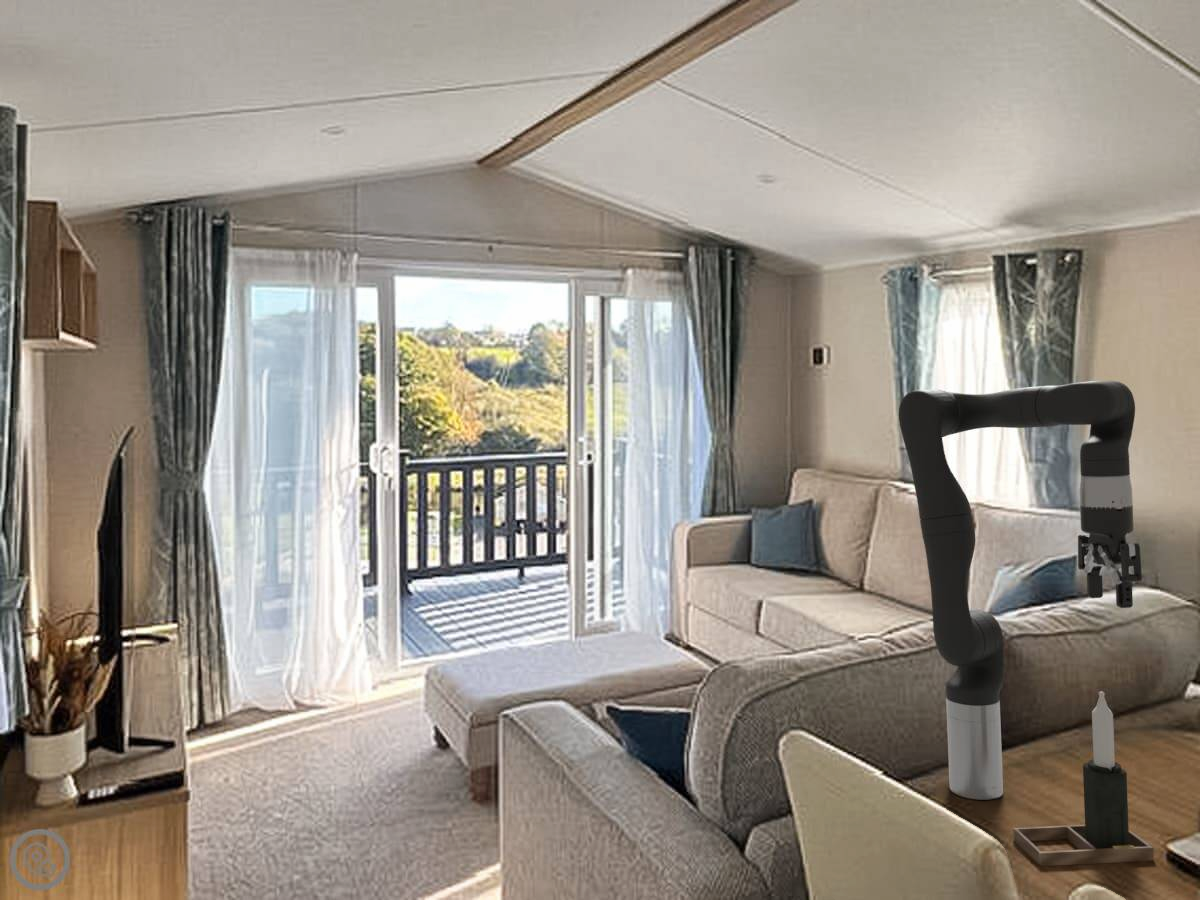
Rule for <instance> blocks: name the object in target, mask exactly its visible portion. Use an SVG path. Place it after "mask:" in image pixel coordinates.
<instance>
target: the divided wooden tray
mask: <svg viewBox="0 0 1200 900" xmlns="http://www.w3.org/2000/svg"><path fill="white" fill-rule="evenodd" d="M1012 833H1013V842H1015V843H1016V844H1017V846H1019V847H1020V848H1021V849H1022V850H1023V851H1024V852H1025V853H1026V854H1027V855H1028V856H1029V857H1030V858H1032V860H1034V862H1036V863H1037V865H1039V866H1040V867H1055V866H1069V865H1073V866H1074V865H1087V864H1089V865H1090V864H1091V865H1094V864H1108V863H1109V864H1110V863H1111V864H1112V863H1113V864H1114V863H1129V862H1130V863H1131V862H1149V861H1151V862H1152V861H1153V862H1154V859H1155V857H1154V856H1155V854H1154V847H1153V846H1152V845H1150V843H1148V842H1147V841H1145V840H1144V839H1142V837H1140V836H1139V835H1137V834H1135V833H1134V832H1133V831H1131V830H1130V829H1129V845H1122V846H1113V848H1104V849H1096V848H1095V847H1094V846H1092V845H1091V844H1090V843H1089V842H1088V841H1086V837H1085V824H1070V825H1066V824H1065V825H1052V826H1051V825H1049V826H1046V825H1045V826H1031V827H1029V826H1027V827H1013V828H1012ZM1051 840H1052V841H1054V840H1056V841H1057V840H1068V841H1069V842H1070V843H1071V844H1072V845H1073V844H1074V845H1073V846H1075V848H1077V849H1065V850H1050V851H1042V850H1041V849H1040V848H1038V847H1037V846H1036V844H1034V843H1033V842H1036V841H1051ZM1032 841H1033V842H1032Z"/></svg>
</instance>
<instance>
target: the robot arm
mask: <svg viewBox="0 0 1200 900" xmlns="http://www.w3.org/2000/svg"><path fill="white" fill-rule="evenodd" d="M898 407H899V408H898V422H899V427H900V428H899V429H900V432H901V435H902V438H903V443H904V446H905V449H906V453H907V458H908V461H909V465H910V468H911V474H912V480H913V484H914V485H913V486H914V490H915V495H916V502H917V507H918V508H917V509H918V517H919V522H920V523H919V524H920V528H921V535H922V541H923V543H924V549H925V557H926V563H927V571H928V577H929V585H930V596H931V608H932V609H931V610H932V612H931V614H932V627H933V635H934V642H935V645H936V649H937V651H938V653H939V654H940V657H942V659H944V661H945V662H946V663H948V664H950V665H952V666H956V667H957V668H956V670H955V671H954V673H953V674H952V675H951V677H950V678H949V679H948V680H947V681H946V683H945V703H946V709H945V710H946V723H947V725H946V729H947V751H948V757H947V758H948V776H949V777H948V779H949V780H948V781H949V789H950V791H951V792H952V793H953V794H955V795H957V796H960V797H962V798H967V799H971V800H980V801H982V800H985V801H987V800H993V799H994V800H995V799H998V798H1000V797H1002V796H1003V794H1004V787H1003V785H1004V781H1003V750H1002V749H1003V748H1002V730H1001V729H1002V728H1001V726H1002V725H1001V704H1000V703H1001V702H1000V693H1001V692H1000V691H1001V689H1002V687H1003V683H1004V679H1005V678H1004V673H1005V672H1004V671H1005V667H1004V666H1005V665H1004V664H1005V645H1004V643H1005V642H1004V640H1005V639H1004V635H1003V632H1002V627H1001V625H1000V623H999V621H998V620H997V619H996V618H995V616H994V615H992V614H991V613H990V612H988V611H986V610H982V609H981V610H980V609H973V610H970V607H969V599H968V590H967V586H968V585H967V584H968V577H969V572H970V568H971V564H972V562H973V557H974V555H975V554H974V553H975V549H976V547H975V546H976V530H975V525H974V518H973V514H972V509H971V504H970V502H969V499H968V496H967V495H966V493H965V492H964V490H963V487H962V485H960V483H959V481H958V480H957V477H955V475H954V474H953V472H952V470H951V468H950V466H949V463H948V461H947V457H946V453H945V449H944V442H943V438H944V437H947V436H951V435H954V434H959V433H963V432H967V431H973V430H976V429H985V428H1009V429H1010V428H1011V429H1022V428H1023V429H1027V428H1028V429H1029V428H1031V429H1032V428H1047V427H1049V428H1050V427H1057V426H1062V425H1066V426H1067V425H1068V426H1071V425H1073V426H1075V425H1077V426H1080V425H1081V426H1082V425H1083V426H1085V425H1087V426H1089V425H1090V428H1089V437H1088V439H1087V440H1085V441H1084V442H1083V443H1082V444H1081V446H1080V451H1079V452H1080V455H1079V459H1080V460H1079V461H1080V463H1079V464H1080V465H1079V466H1080V481H1079V482H1080V484H1079V510H1080V513H1079V515H1080V516H1079V517H1080V530H1081V531H1082V532H1083V533H1086V534H1079V535H1078V536H1077V566H1078V567H1077V568H1078V569H1079V570H1080V571H1081V570H1083V572H1084V575H1085V576H1086V586H1087V587H1086V591H1087V593H1086V595H1087V597H1088V598H1091V599H1100V598H1102V597H1103V595H1104V594H1103V593H1104V591H1103V587H1104V586H1103V575H1102V573H1103V571H1104V569H1105V567H1106V568H1107V571H1108V572H1109V573H1111V574H1112V576H1113V578H1114V580H1115V582H1116V583H1115V605H1116V607H1118V608H1121V609H1127V608H1128V609H1129V608H1132V607H1133V604H1134V602H1133V585H1134V584H1135V583H1138V582H1139V583H1140V582H1142V580H1143V575H1142V563H1141V561H1142V560H1141V548H1140V544H1139V543H1137V542H1136V543H1135V542H1134V543H1133V542H1131V543H1128V542H1127V539H1126V536H1127V534H1131V533H1132V532H1133V531H1134V505H1133V504H1134V503H1133V488H1132V482H1131V476H1130V473H1131V472H1130V471H1131V470H1130V469H1131V467H1130V453H1129V448H1130V442H1131V438H1132V434H1133V429H1134V423H1135V415H1136V403H1135V399H1134V395H1133V393H1132V391H1131V389H1130V388H1129V387H1128V386H1127V385H1126V384H1125V383H1123V382H1120V381H1115V380H1090V381H1082V382H1081V381H1080V382H1075V383H1074V382H1073V383H1067V384H1061V385H1041V386H1040V385H1039V386H1029V387H1028V386H1027V387H1018V388H1010V389H1007V390H1001V391H997V392H992V393H991V392H990V393H982V394H981V393H972V394H971V393H964V392H963V393H961V392H955V391H954V392H952V391H946V390H942V389H914V390H912V391H910V392H909V391H908V393H906V394H905V395H904V396H903V398H902V400H900V404H899V406H898ZM1132 569H1133V570H1132Z"/></svg>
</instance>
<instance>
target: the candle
mask: <svg viewBox="0 0 1200 900" xmlns="http://www.w3.org/2000/svg"><path fill="white" fill-rule="evenodd" d="M1098 696H1099V697H1098V700H1097V704H1096V706H1095V707H1094V709H1093V710H1092V711H1091V724H1092V726H1091V727H1092V750H1093V751H1092V752H1093V759H1090V760H1088V761H1087V763H1083V764H1082V776H1083V778H1082V779H1083V781H1082V782H1083V805H1084V806H1083V807H1084V808H1083V809H1084V825H1085V837H1086V838H1085V840H1086V841H1088V842H1089V843H1090V844H1091V845H1092V846H1094V847H1095V848H1096V849H1104V848H1113V846H1122V845H1130V844H1129V830H1130V829H1129V827H1130V826H1129V807H1128V805H1129V803H1128V802H1129V801H1128V800H1129V798H1128V777H1127V775H1128V774H1127V771H1126V770H1125V769H1123V768H1122V766H1121V764H1120V763H1118V762H1116V761H1115V735H1114V730H1115V729H1114V713H1113V712H1112V711H1111V709H1110V708H1109V707H1108V703H1107V701H1106V698H1105V692H1104V691H1099V692H1098Z"/></svg>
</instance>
